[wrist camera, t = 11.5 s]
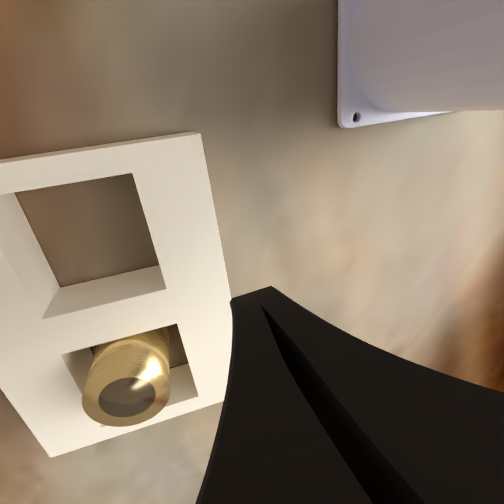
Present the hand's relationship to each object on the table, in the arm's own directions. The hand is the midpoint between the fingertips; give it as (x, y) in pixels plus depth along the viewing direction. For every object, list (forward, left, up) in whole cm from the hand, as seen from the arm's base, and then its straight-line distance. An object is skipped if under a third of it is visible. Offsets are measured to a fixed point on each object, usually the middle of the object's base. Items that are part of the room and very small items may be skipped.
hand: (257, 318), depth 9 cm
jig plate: (+6, +3, -9) cm, 12 cm away
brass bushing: (+6, +6, -10) cm, 13 cm away
